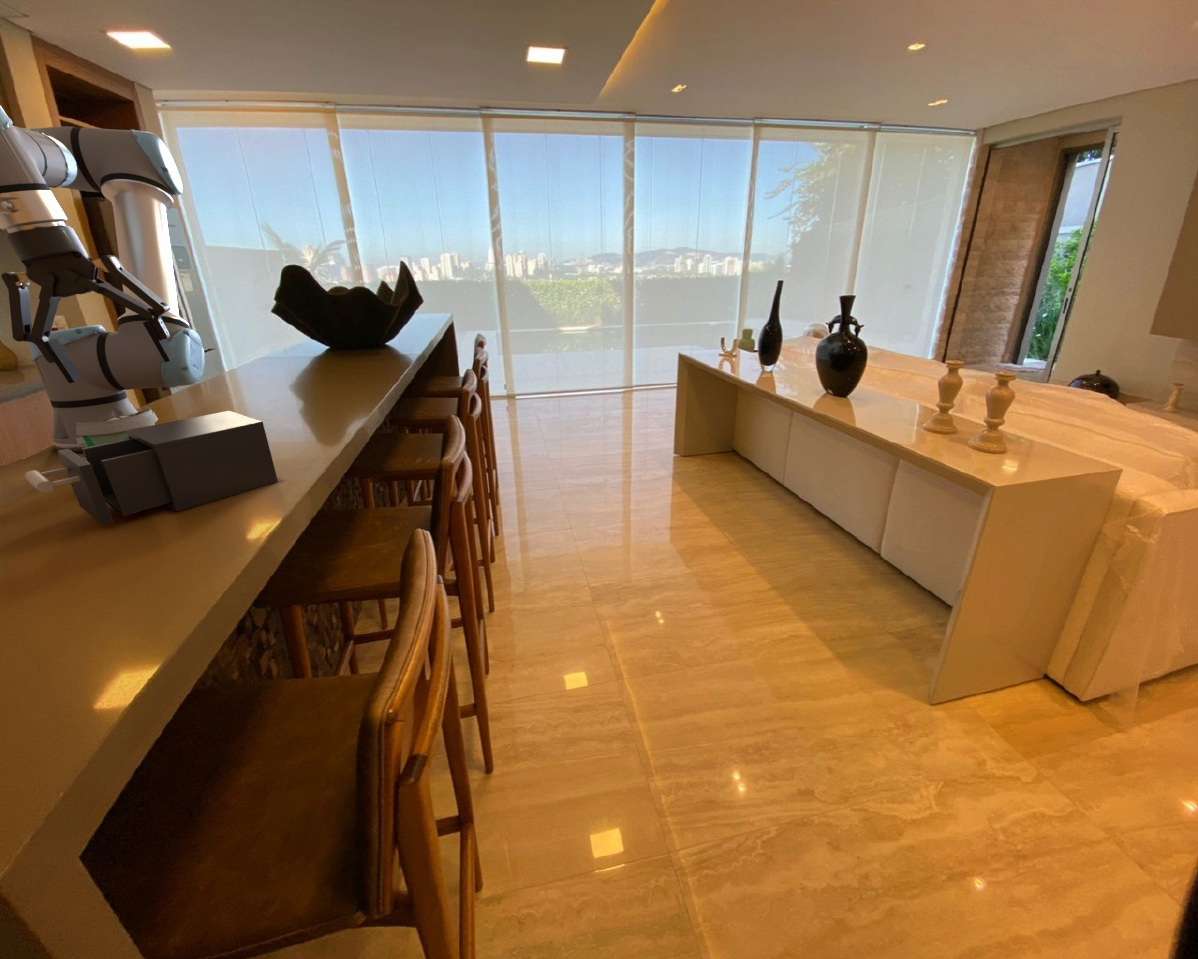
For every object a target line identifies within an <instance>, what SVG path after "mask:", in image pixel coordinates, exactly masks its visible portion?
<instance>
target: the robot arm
mask: <svg viewBox="0 0 1198 959" xmlns="http://www.w3.org/2000/svg"><path fill="white" fill-rule="evenodd" d="M57 188H61V189H62V188H63V189H70V190H75V191H83V192H92V193H101V194H102V195H103V197H104V198H106V199H107V200H108V201H109V202H111V203H112V211H113V218H114V227H115V235H116V242H117V250H118V251H117V252H118V257H117V256H115V255H114V254H107V255H101V256H100V257H99V258H97V259H93V258H91V257H90V256H89V255H88V253H87V251H86V249H85V246H84V245H83V243H82V241H81V240H80V238H79V237H78V235H77V233H76V231H75V230H74V228H73V227H71V226H70V225H66V224H65V223H66V222H68V217H67V216H66V214H65V212H64V211H63V209H62V207H61V206H60V204H59V202H58V201H57V199H56V197H55V196H54V193H53V192H52V191H51V189H57ZM183 191H184V186H183V181H182V178H181V175H180V172H179V169H178V167H177V165H176V162H175V161H174V158H173V155H172V154H171V152H170V150H169V149H168V146H167V145H166V144H165V142H164V141H163V140H162V139H161V138H160V137H159V136H158V134H155V133H153V132H150V131H143V130H135V129H133V128H131V129H129V130H127V129H113V128H112V129H110V128H97V127H85V126H84V127H82V126H81V127H80V126H70V125H69V126H67V125H66V126H51V127H48V126H47V127H38V128H27V127H26V128H25V127H19V126H15V125H14V122H13V120H12V118H10V117H9V116H8V114H7V113H6V112H5V110H4V109H3V107H2V106H1V105H0V229H1V230H3V231H7V233H6V234H5V240H6V241H7V242H8V244H9V245H10V247H11V249H12V250H13V252H14V254H15V255H16V256H17V258H18V259H19V260H20V262H21V263H22V264H23V265H24V268H25V271H24V272H23V271H21V272H18V271H9V272H3V273H1V275H0V276H1V279H2V281H3V283H4V284H5V286H6V288H7V291H8V302H9V311H10V312H9V313H10V322H11V333H12V334H11V335H12V338H13V340H14V341H16V342H19V343H21V342H27V347H28V349H29V353H30V356H31V361H32V363H33V364H34V367H35V369H36V371H37V373H38V376H39V378H40V381H41V383H42V386H43V388H44V390H45V391H44V392H46V396H47V398H48V400H49V402H50V405H51V407H52V410H53V424H52V442H53V446H54V447H55V449H56V450H57V451H58V450H63V449H69V450H71V451H72V452H74V453H82V452H83V450H82V448H86V447H88V446H87V444H86V442H85V440H84V439H83V437H82V435H77V433H76V427H77V425H76V423H90V422H101V421H103V420H106V419H108V418H111V417H115V416H124V415H130V414H135V413H138V412H139V411H138V410H137V409H136V408H135V407H134V406H133V404H132V403H131V402H130V400H129V398H128V396H127V392H126V391H129V390H145V389H160V388H170V389H174V388H178V387H185V386H192V385H195V384H197V383H198V382H199V380H201V378H202V376H203V374H204V370H205V364H206V363H205V362H206V356H205V355H206V354H205V349H204V347H203V341H202V339H201V336H200V335H199V333H198V332H197V331H195V330H194V329H192V328H190V324H189V323H188V322H187V320H185V319H183V317H181V316H180V312H179V304H178V296H177V288H176V279H175V273H174V266H173V265H174V264H173V257H172V249H171V240H170V235H169V226H168V218H167V212H168V211H170V210H172V209H173V207H174V196H180V195H182V194H184V193H183ZM173 195H174V196H173ZM100 269H101V270H102V271H104V272H105V273H109V274H110V275H111V276H112V277H114V278H115V279H116V280H117V281H118V282H119V283H121V284H122V290H123V291H122V290H120V289H118V288H116V287H115V286H113V285H112V284H111V283H109V282H107V281H106V280H104V279H102V278H100V277H99V271H100ZM30 281H31V282H33V283H34V284H36V285H38V286H39V287H41V288H40V291H39V294H38V300H39V302H38V304H37V309H36V313H35V316H34V320H33V321H32V311H31V298H30V297H31V296H30V290H29V287H30V286H31V282H30ZM89 293H95V294H98V295H101V296H104V297H105V298H108V299H109V300H111V301H113V302H115V303H117V304H118V305H120V306H122V307H124V308H125V312H124V313H123V314H122V315H120V316H119V317H117V331H106V328H104V327H103V325H101V324H94V325H92V324H91V325H86V326H78V327H73V328H66V329H65V328H64V329H59V330H53V331H52V328H53V325H54V321H55V317H56V314H57V311H58V306H59V303H60V301H62V298H69V297H73V296H76V295H85V294H89ZM32 322H33V324H32Z"/></svg>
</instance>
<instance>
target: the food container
mask: <svg viewBox="0 0 1198 959" xmlns="http://www.w3.org/2000/svg"><path fill="white" fill-rule="evenodd" d="M141 409H142V410H141V411H137V412H138V413H135V414H130V415H124V416H115V417H111V418H108V419H106V420H103V421H101V422H90V423H76V425H77V427H76V433H77V435H82V437H83V439H84V440H85V442H86V444H87V446H88V447H91V446H96V445H101V444H106V443H111V442H116V441H121V440H126V439H128V436H127V434H126V430H130V429H136V428H141V427H146V426H152V425H156V424H155V423H156V422H157V421H159V418H158V417H157V415H156V413H155V411H154V410H152V408H150V407H149V406H141Z"/></svg>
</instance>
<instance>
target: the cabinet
mask: <svg viewBox="0 0 1198 959" xmlns="http://www.w3.org/2000/svg"><path fill="white" fill-rule="evenodd" d="M126 434H127V436H128V439H131V438H134V439H136V440H138V441H140V442H142V443H144V444H146V445H147V446H149V447H151V448H153V449H154V451H155V453H156V456H157V459H158V462H159V465H160V468H161V471H162V474H163V477H164V480H165V483H166V486H167V489H168V492H169V494H170V497H171V500H172V502H171V503H167V504H165V506H167V507H169V508H171V509H172V510H173V511H175V512H177V513H178V512H181V511H185V510H187V509H192V508H194V507H198V506H201V505H204V504H208V503H211V502H214V501H217V500H221V499H225V498H228V497H231V496H233V495H238V494H241V493H244V492H248V491H251V490H255V489H258V488H262V487H264V486H265V487H266V486H267V485H271V484H275V483H277V482H279V480H278V475H277V472H276V468H275V463H274V461H273V456H272V452H271V448H270V445H269V441H268V437H267V432H266V429H265V425H264V422H263V421H262V420H259V419H256V418H254V417H250V416H247V415H245V414H244V415H243V414H241V413H237V412H234V411H231V410H226V411H221V412H216V413H215V412H214V413H210V414H204V415H200V416H194V417H190V418H183V419H179V420H174V421H168V422H163V423H158V424H155V425H152V426H146V427H141V428H136V429H130V430H126Z"/></svg>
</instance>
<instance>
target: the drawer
mask: <svg viewBox="0 0 1198 959" xmlns="http://www.w3.org/2000/svg"><path fill="white" fill-rule="evenodd" d="M82 450H83V455H84V458H85V459H84V458H83V457H81V456H80V455H79V454H76V452H72V451H71V450H69V449H63V450H57V451H56V452H57V453H58V457H59V460H60V461H61V464H62V467H60V468H56V469H51V470H47V471H43V472H40V471H39V470H33V469H32V470H29V471H27V472H25V473H24V479H25V480H26V481H27V482H28V483H29V484H30V485H31V486H33V488H35V490H36V491H37V492H40V493H42V494H47V493H48V494H49V493H51V492H52V491H53V490H54V489H55V487H59V486H63V485H64V486H65V485H69V484H70V486H71V487H72V491H73V493H74V495H75V498H76V500H77V502H78V506H79V507H80V508H81V509H83V510H84V511H85V512H86V513H87V514H88V515H90V516H91V517H92V519H94V520H96V521H97V523H99V524H100V525H101V526H102V527H104V526H107V525H111V524H114V523H115V522H114V520H113V517H112V514H111V511H110V509H109V506H110V507H111V508H112V509H113V510H115V511H116V512H117V513H119V514H120V515H121V516H122V517H125V516H129V515H133V514H136V513H140V512H143V511H147V510H150V509H153V508H156V507H161V506H163V505H166V504H167V503H171V502H172V500H171V497H170V494H169V492H168V489H167V486H166V483H165V480H164V477H163V474H162V471H161V468H160V465H159V462H158V459H157V456H156V453H155V451H154V449H153V448H151V447H149V446H147V445H146V444H144V443H142V442H140V441H138V440H136V439H134V438H131V439H126V440H121V441H116V442H111V443H106V444H101V445H96V446H91V447H86V448H82ZM65 473H66V476H67V477H66V478H63V479H58V480H54V481H50V479H48V478H47V477H51V476H57V475H60V474H65ZM108 505H109V506H108Z"/></svg>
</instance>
